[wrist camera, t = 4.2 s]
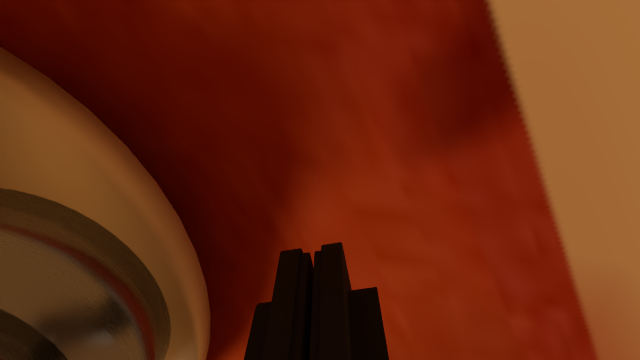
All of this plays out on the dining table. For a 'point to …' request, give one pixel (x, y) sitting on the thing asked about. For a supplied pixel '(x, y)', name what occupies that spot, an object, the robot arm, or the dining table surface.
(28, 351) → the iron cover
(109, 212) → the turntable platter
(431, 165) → the dining table surface
